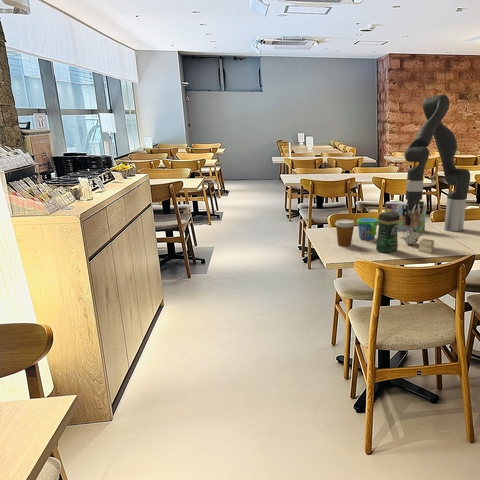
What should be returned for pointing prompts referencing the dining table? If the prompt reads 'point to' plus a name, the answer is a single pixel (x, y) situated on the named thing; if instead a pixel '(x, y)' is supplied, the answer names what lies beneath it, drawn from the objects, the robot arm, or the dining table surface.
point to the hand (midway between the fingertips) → (411, 223)
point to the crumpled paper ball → (411, 236)
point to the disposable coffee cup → (344, 231)
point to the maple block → (426, 245)
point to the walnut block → (413, 220)
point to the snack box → (398, 208)
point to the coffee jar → (388, 232)
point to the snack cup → (367, 228)
